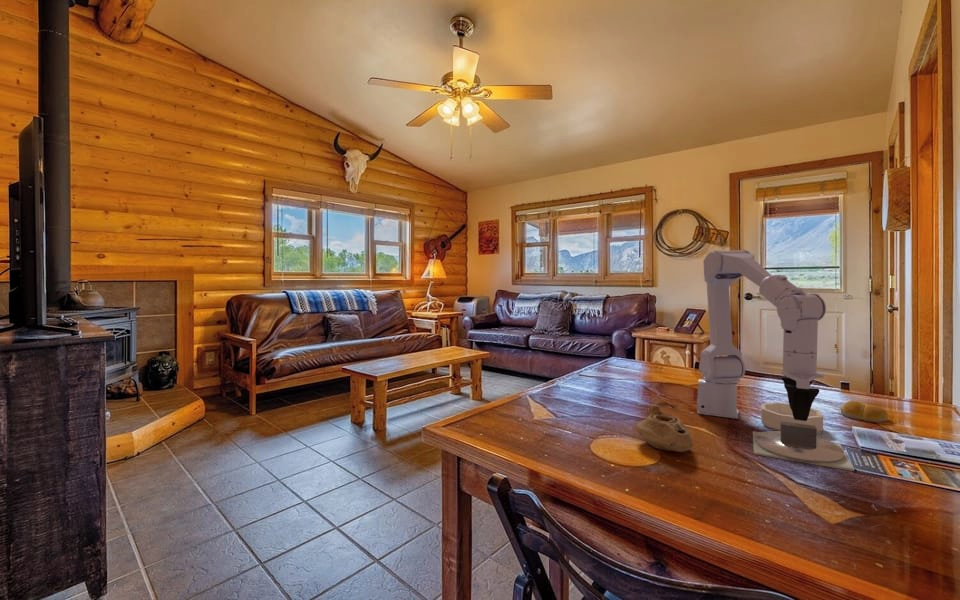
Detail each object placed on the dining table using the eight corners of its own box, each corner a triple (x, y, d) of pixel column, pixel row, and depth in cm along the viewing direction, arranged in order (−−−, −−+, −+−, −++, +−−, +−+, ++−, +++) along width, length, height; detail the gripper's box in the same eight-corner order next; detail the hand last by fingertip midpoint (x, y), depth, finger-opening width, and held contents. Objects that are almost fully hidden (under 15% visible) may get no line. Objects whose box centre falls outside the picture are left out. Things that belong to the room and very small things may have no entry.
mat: (753, 454, 89) (753, 452, 89) (752, 432, 101) (752, 431, 101) (854, 471, 81) (854, 469, 81) (840, 445, 92) (840, 444, 92)
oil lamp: (671, 465, 84) (671, 426, 84) (625, 438, 99) (625, 404, 98) (715, 458, 87) (715, 420, 87) (664, 433, 102) (664, 400, 101)
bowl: (762, 429, 103) (762, 412, 103) (760, 415, 113) (760, 400, 113) (825, 438, 97) (825, 420, 97) (817, 422, 107) (817, 406, 107)
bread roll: (885, 425, 105) (886, 409, 104) (838, 417, 111) (839, 402, 111) (890, 418, 110) (890, 402, 110) (844, 410, 117) (845, 396, 117)
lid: (756, 453, 88) (756, 429, 88) (755, 431, 101) (755, 410, 101) (851, 469, 80) (851, 443, 80) (836, 442, 93) (837, 420, 93)
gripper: (830, 358, 81) (828, 428, 82) (818, 347, 94) (817, 408, 94) (784, 355, 85) (783, 422, 86) (779, 345, 97) (778, 403, 98)
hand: (798, 414), depth 90 cm, fingers open, 7 cm apart
